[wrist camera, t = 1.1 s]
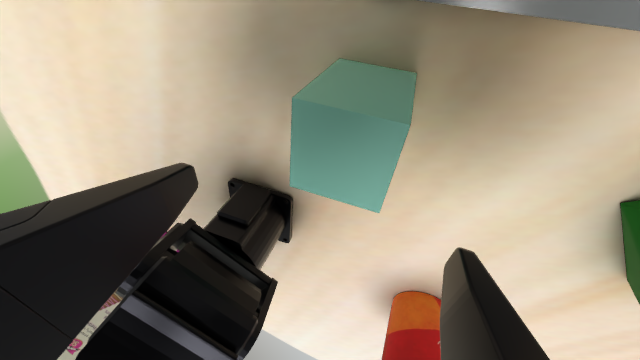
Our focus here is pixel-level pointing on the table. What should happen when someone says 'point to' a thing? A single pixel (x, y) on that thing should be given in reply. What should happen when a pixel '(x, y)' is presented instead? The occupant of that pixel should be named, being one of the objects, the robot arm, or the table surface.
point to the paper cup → (413, 328)
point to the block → (350, 132)
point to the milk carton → (632, 243)
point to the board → (564, 10)
